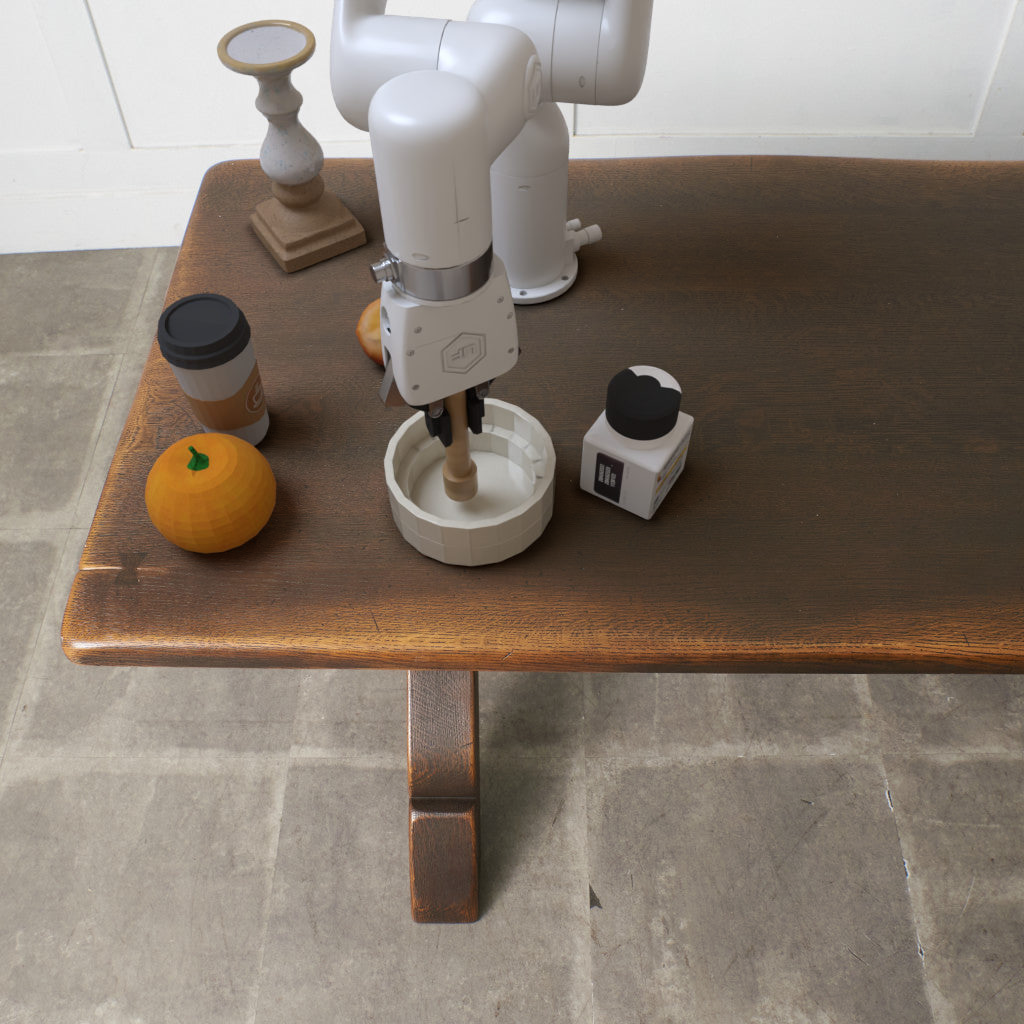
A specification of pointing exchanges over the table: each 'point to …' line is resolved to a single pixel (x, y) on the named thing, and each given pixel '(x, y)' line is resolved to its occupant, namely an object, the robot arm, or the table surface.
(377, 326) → the fruit
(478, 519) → the bowl
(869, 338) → the table surface
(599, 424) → the container
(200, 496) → the fruit
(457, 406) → the wooden pestle
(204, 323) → the coffee cup
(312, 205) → the candle holder
